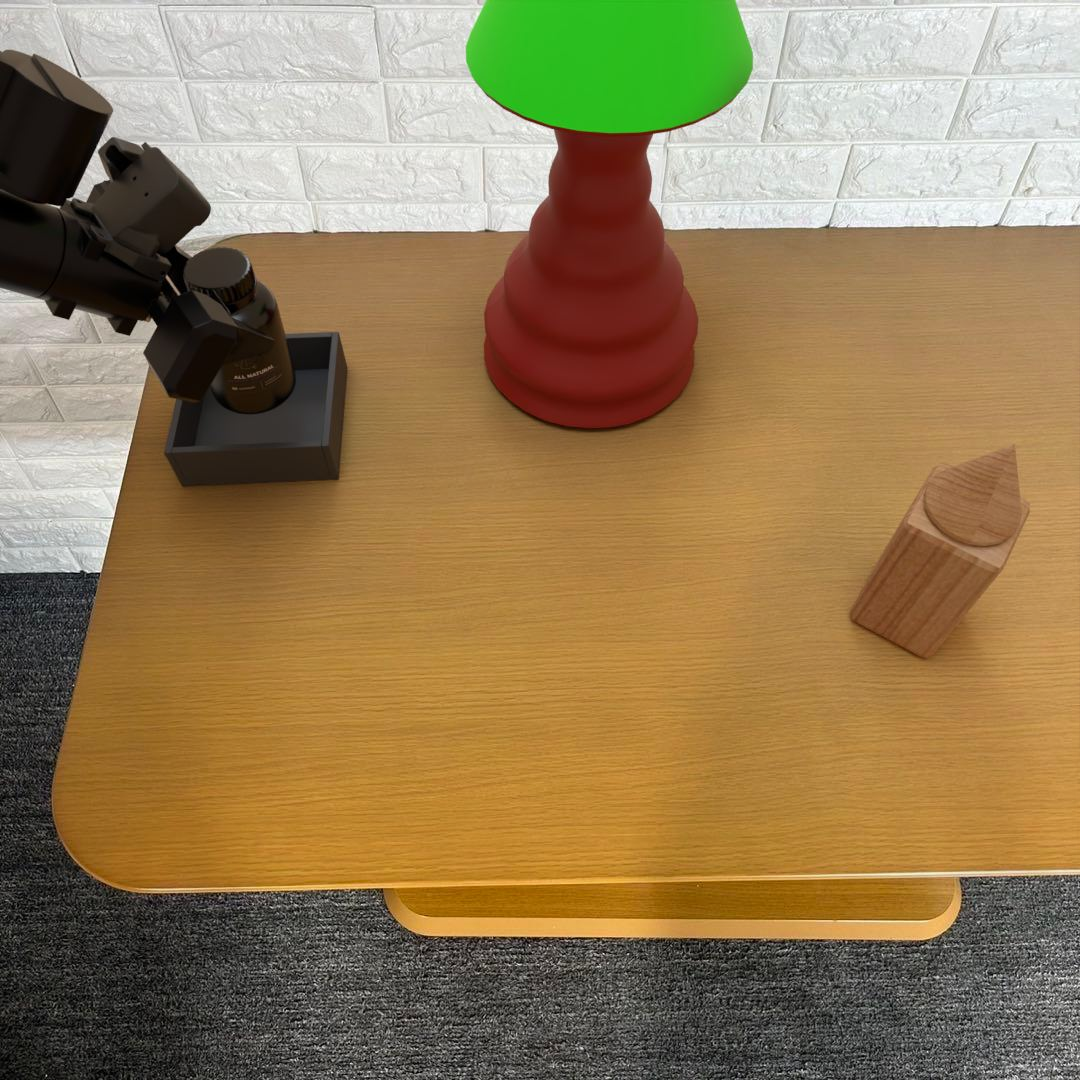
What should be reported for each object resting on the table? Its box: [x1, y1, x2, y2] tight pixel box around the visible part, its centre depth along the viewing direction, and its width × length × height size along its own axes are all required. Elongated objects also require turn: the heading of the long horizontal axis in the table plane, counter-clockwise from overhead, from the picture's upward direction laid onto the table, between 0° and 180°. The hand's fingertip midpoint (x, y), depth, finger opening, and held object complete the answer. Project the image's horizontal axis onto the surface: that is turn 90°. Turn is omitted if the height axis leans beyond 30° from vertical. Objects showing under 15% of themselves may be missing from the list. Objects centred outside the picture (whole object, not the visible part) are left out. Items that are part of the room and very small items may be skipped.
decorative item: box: [849, 443, 1031, 659], centre depth 61 cm, size 7×7×20 cm
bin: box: [163, 331, 348, 487], centre depth 78 cm, size 13×13×4 cm
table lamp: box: [465, 0, 754, 429], centre depth 66 cm, size 20×20×45 cm
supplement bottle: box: [183, 246, 296, 415], centre depth 69 cm, size 7×7×12 cm
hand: (251, 318), depth 68 cm, fingers closed on supplement bottle, 7 cm apart
